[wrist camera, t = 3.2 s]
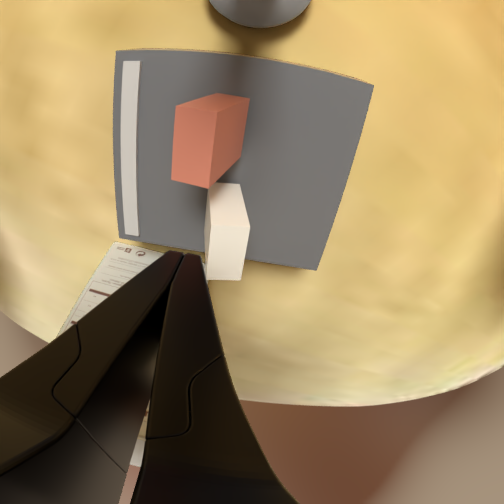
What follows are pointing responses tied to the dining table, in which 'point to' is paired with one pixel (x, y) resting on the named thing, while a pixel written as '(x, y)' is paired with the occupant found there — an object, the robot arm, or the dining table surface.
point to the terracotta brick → (208, 138)
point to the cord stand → (260, 11)
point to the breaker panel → (252, 155)
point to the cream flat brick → (225, 232)
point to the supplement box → (103, 285)
